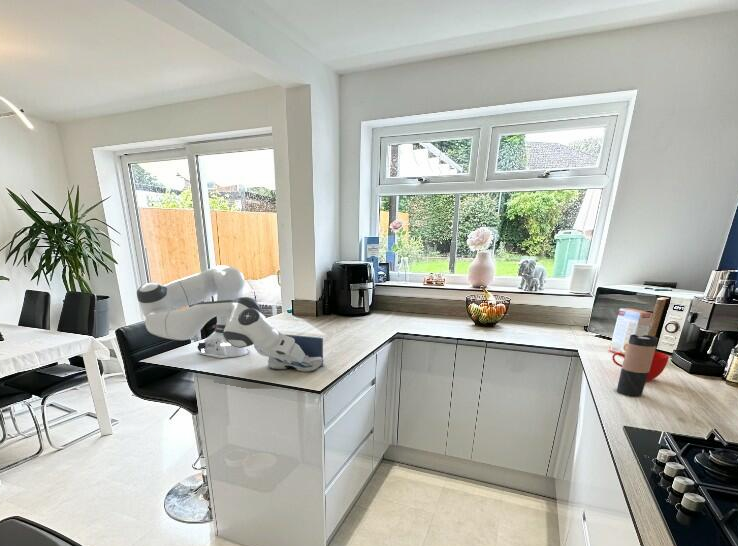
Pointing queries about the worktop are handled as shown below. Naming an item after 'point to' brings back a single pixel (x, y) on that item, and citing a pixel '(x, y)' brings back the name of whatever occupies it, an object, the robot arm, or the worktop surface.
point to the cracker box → (629, 328)
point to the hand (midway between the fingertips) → (288, 361)
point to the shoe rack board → (309, 345)
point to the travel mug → (636, 365)
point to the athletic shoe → (296, 364)
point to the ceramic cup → (652, 364)
